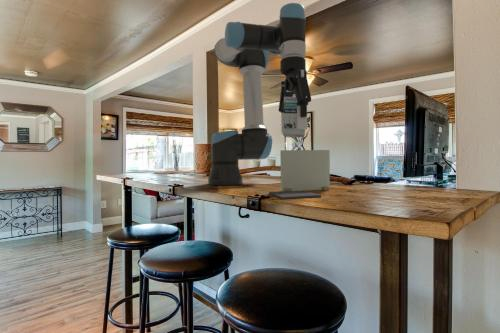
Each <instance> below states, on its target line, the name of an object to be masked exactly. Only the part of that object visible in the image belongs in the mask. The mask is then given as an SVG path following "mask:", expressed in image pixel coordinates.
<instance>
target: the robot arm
mask: <svg viewBox="0 0 500 333" xmlns="http://www.w3.org/2000/svg"><path fill="white" fill-rule="evenodd" d="M278 18H279V22H278V24H276V26H273V25H267V24H266V25H264V24H257V23H256V24H254V23H246V22H240V21H229V22H227V24H226V26H225V32H224V37H221V39H218V40H217V42H216V43H215V45H214V48H213V53H214V56H215V58H216V60H218V62H220V63H221V64H223V65H224V66H227V67H231V68H232V67H233V68H238V70H239V74H241V75H242V87H243V110H244V111H243V113H244V114H243V115H244V127H243V128H242V129H241V133H239V131H238V130H237V129H235V130H234V129H233V130H223V131H219V132H215V133H213V134H212V135H211V144H210V146H211V168H210V172H209V175H208V178H207V183H208V185H210V186H236V185H242V184H243V175H242V173H241V171H240V170H241V169H240V167H239V160H240V161H242V160H245V161H247V160H256V161H260V160H266V159H267V158H268V157H269V156H270V154H271V152H272V148H273V137H272V134H271V133H269V132H268V128H266V126H265V125H264V105H263V104H264V103H263V102H264V100H263V82H262V81H263V79H262V78H263V77H262V76H263V73H265V70H266V69H267V68H268V66H269V58H270V55H272V56H279V57H280V73H281V74H282V75H284V76H285V79H284V80H281V85H280V86H281V88H280V96H279V104H278V112H279V113H281V114H280V115H281V116H280V117H281V118H280V120H281V123H280V124H281V125H280V126H281V128H280V129H281V131H280V132H282V128H283V112H284V97H296V98H297V101H298V102H297V104H296V105H300V106H297V129H304V130H305V131H306V130H308V105H309V103H311V102H312V97H311V91H310V87H309V82H308V78H307V77H308V76H307V74H308V73H307V69H306V67H307V66H306V61H307V60H306V59H305V58H306V57H307V56H306V55H307V52H306V51H307V50H306V49H307V47H306V46H307V45H306V20H307V19H306V18H307V17H306V8H305V7H304V6H303V4H301V3H300V2H299V3H298V2H290V3H289V2H288V3H286V4H284V5H282V6H281V8H280V11H279V16H278ZM269 54H270V55H269ZM294 95H295V96H294Z"/></svg>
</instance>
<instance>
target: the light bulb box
mask: <svg viewBox="0 0 500 333" xmlns="http://www.w3.org/2000/svg"><path fill="white" fill-rule="evenodd" d="M297 102H298V101H297V98H296V96H292V97H284V112H283V128H282V131H281V134H282V135H283V137H284V138H287V137H288V138H305V136H306V130H304V129H297V106H300V105H296V104H297Z"/></svg>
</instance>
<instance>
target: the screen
mask: <svg viewBox="0 0 500 333" xmlns="http://www.w3.org/2000/svg"><path fill="white" fill-rule="evenodd" d="M279 155H280V156H279V157H280V191H302V190H304V191H320V190H321V191H330V189H331V188H330V186H331V185H330V184H331V182H330V181H331V178H330V177H331V175H330V174H331V172H330V169H331V168H330V163H331V162H330V157H331V156H330V155H331V154H330V149H301V150H300V149H296V150H295V149H294V150H293V149H289V150H286V149H285V150H283V149H282V150H281V149H280V154H279Z"/></svg>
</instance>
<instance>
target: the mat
mask: <svg viewBox="0 0 500 333" xmlns="http://www.w3.org/2000/svg"><path fill="white" fill-rule="evenodd" d="M268 194H269V195H271V196H273V197H276V198H279V199H281V200H290V199H291V200H292V199H309V198H311V199H314V198H322V194H319V193H315V192H311V191H309V190H302V191H281V190H280V191H269V192H268Z"/></svg>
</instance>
